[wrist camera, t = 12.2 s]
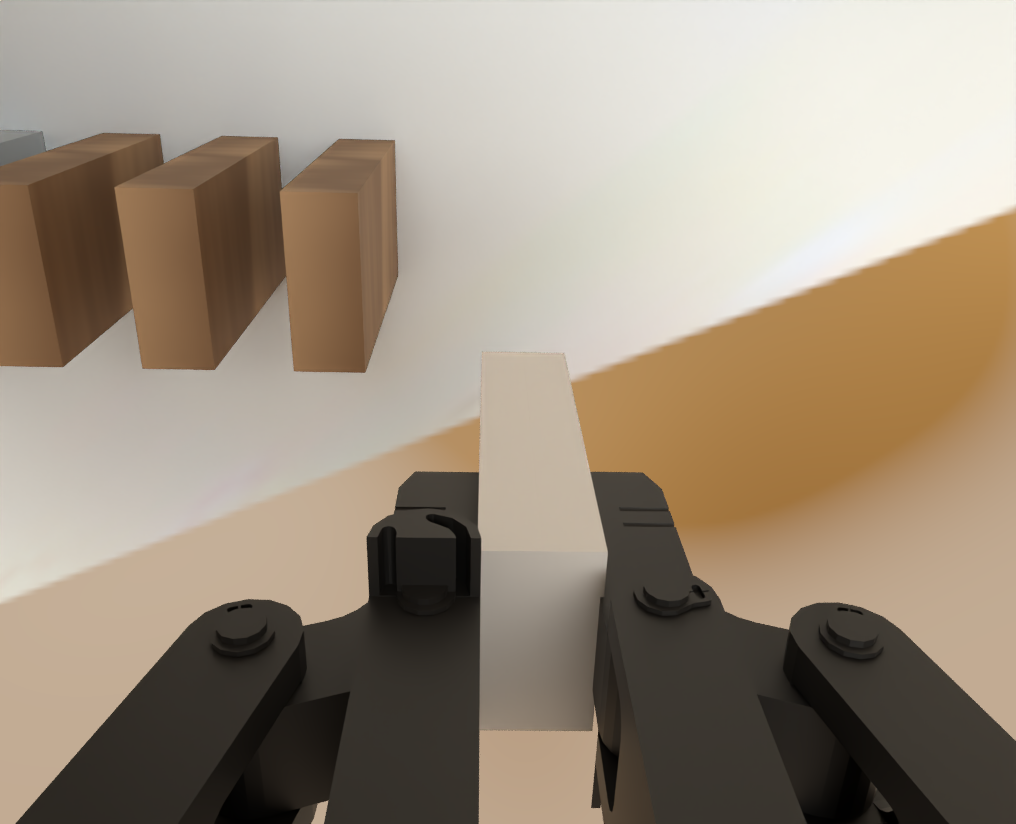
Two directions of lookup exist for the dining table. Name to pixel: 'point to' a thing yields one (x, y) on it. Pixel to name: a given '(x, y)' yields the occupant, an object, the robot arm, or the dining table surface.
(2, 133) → the domino
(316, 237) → the domino
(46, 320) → the domino
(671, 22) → the dining table surface
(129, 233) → the domino
